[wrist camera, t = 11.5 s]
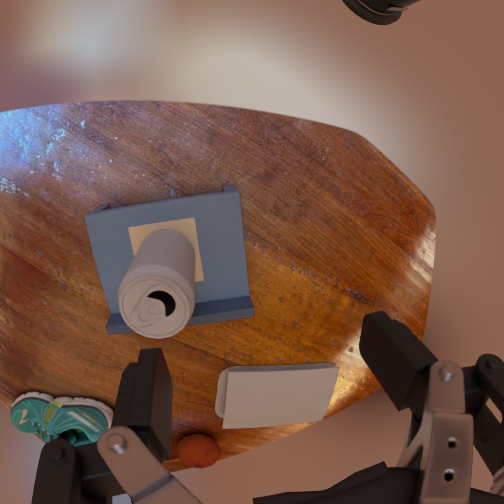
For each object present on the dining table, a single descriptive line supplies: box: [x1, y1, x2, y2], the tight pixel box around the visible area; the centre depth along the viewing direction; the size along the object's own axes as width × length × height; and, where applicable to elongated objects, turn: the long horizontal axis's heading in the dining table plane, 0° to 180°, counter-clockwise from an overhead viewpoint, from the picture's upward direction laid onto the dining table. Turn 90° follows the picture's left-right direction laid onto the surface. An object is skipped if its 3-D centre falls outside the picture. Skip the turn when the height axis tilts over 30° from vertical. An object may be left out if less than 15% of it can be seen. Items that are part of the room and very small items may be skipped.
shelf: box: [84, 185, 255, 334], centre depth 34 cm, size 14×18×9 cm
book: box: [215, 363, 339, 429], centre depth 50 cm, size 15×23×4 cm, turn 81°
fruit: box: [177, 434, 220, 468], centre depth 50 cm, size 9×9×8 cm
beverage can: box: [118, 229, 195, 338], centre depth 27 cm, size 6×6×12 cm
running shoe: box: [11, 391, 114, 446], centre depth 40 cm, size 11×29×11 cm, turn 100°
